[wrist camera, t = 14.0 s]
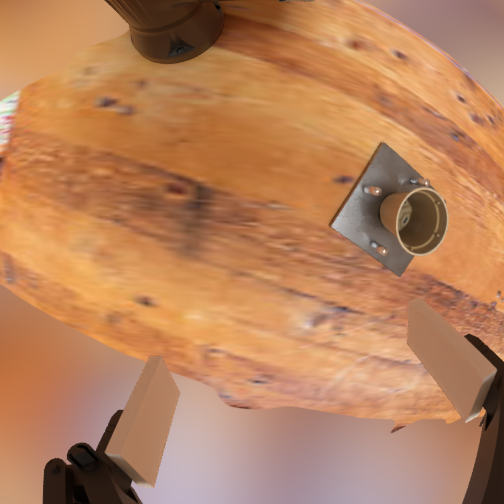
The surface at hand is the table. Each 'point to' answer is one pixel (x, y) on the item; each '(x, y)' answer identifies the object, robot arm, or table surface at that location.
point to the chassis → (378, 207)
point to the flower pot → (416, 219)
